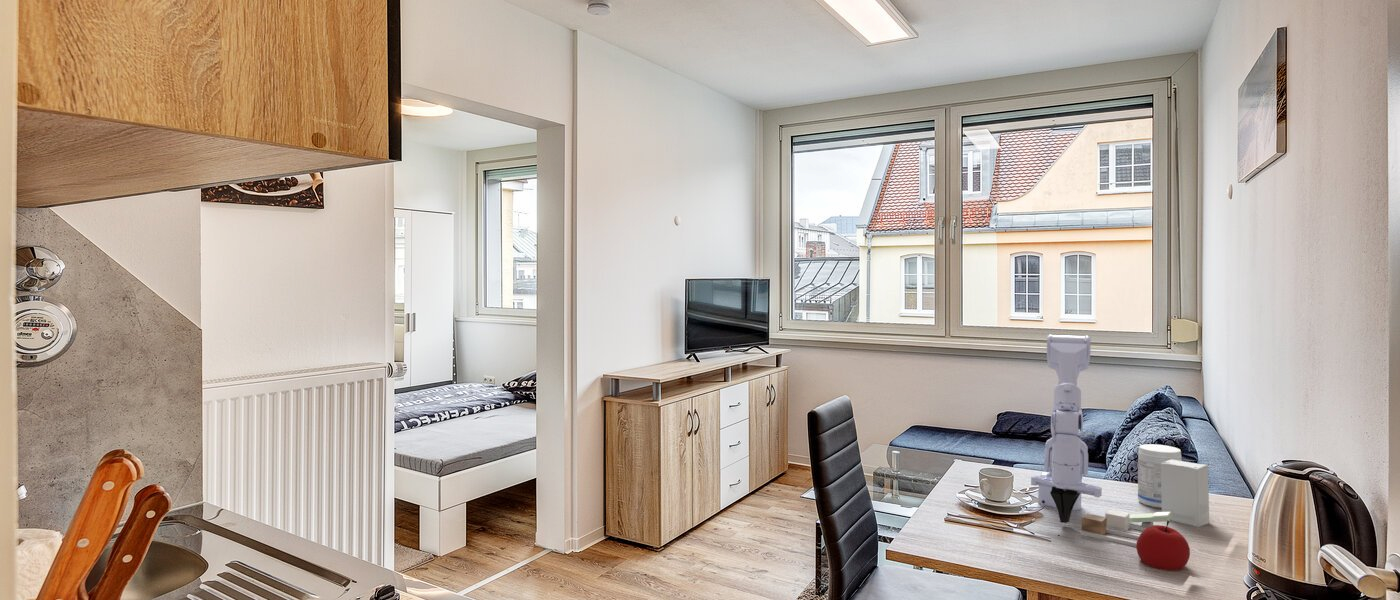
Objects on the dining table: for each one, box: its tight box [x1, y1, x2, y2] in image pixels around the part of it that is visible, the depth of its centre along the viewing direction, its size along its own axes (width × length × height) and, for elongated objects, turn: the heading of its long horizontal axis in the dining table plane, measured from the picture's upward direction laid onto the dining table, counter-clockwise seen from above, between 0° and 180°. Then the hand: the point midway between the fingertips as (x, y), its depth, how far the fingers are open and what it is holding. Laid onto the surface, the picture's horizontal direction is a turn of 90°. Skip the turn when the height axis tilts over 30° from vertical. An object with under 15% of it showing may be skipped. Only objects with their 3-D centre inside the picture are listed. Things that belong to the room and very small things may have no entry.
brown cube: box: [1081, 512, 1107, 535], centre depth 164 cm, size 4×4×4 cm
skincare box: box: [1161, 459, 1210, 528], centre depth 173 cm, size 8×6×15 cm
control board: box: [1079, 522, 1154, 547], centre depth 165 cm, size 20×22×3 cm
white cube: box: [1104, 509, 1131, 531], centre depth 167 cm, size 4×4×4 cm
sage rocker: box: [1129, 511, 1172, 524], centre depth 167 cm, size 9×4×1 cm, turn 47°
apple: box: [1136, 520, 1191, 572], centre depth 146 cm, size 9×9×10 cm
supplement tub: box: [1137, 443, 1182, 509], centre depth 189 cm, size 10×10×15 cm
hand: (1064, 521), depth 168 cm, fingers closed
